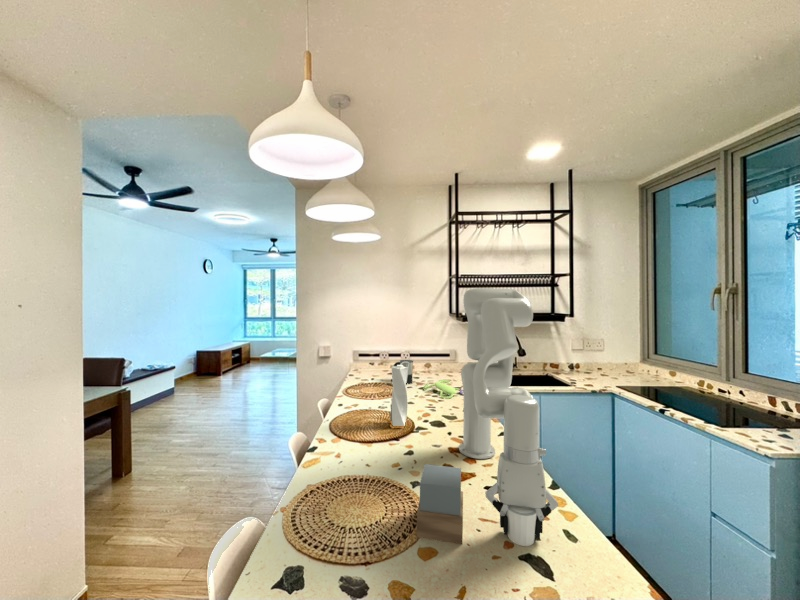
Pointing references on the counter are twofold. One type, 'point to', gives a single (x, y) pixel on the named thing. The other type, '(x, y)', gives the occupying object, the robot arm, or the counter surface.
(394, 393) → the skyscraper
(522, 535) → the shot glass
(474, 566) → the counter surface
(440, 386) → the figurine
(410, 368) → the milk frother
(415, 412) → the counter surface
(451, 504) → the slate top block
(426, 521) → the walnut base block
